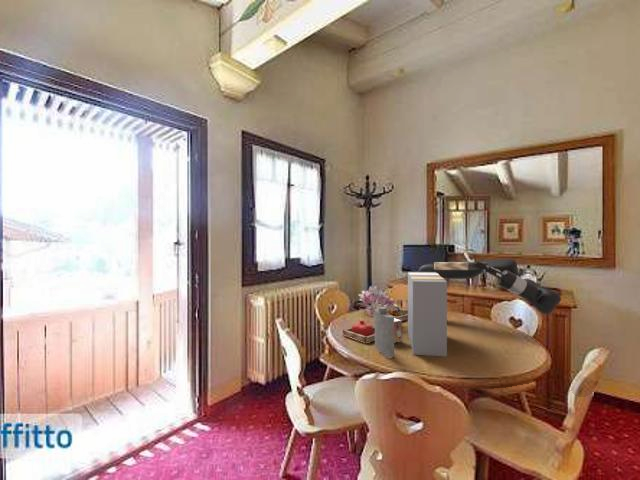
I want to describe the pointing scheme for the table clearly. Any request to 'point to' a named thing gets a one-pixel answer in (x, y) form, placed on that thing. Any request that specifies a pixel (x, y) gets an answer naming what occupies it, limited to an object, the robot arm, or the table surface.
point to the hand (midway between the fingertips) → (475, 262)
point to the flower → (380, 298)
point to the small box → (397, 330)
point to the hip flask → (384, 332)
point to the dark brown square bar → (457, 266)
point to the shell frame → (402, 317)
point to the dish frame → (358, 336)
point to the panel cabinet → (427, 313)
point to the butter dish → (362, 329)
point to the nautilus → (393, 311)
